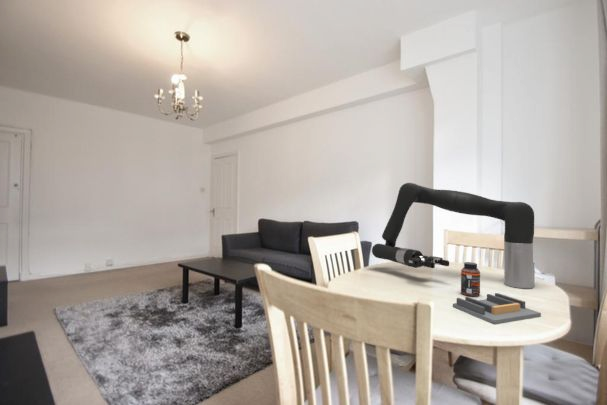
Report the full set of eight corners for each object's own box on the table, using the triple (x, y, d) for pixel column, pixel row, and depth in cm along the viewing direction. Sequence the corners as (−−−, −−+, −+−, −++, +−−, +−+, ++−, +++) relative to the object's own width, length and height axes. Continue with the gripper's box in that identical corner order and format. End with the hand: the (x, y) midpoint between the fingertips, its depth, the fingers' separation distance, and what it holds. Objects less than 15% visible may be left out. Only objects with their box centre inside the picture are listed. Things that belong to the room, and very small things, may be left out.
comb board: (495, 300, 97) (495, 292, 97) (540, 316, 84) (540, 305, 84) (452, 306, 92) (452, 297, 92) (494, 324, 78) (494, 313, 78)
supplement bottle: (473, 298, 100) (473, 265, 100) (457, 293, 105) (457, 262, 105) (483, 295, 103) (483, 263, 103) (467, 291, 108) (467, 260, 108)
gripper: (397, 249, 125) (429, 256, 111) (420, 247, 132) (453, 253, 117) (397, 267, 125) (429, 276, 111) (420, 264, 132) (453, 272, 117)
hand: (441, 264), depth 114 cm, fingers open, 8 cm apart
